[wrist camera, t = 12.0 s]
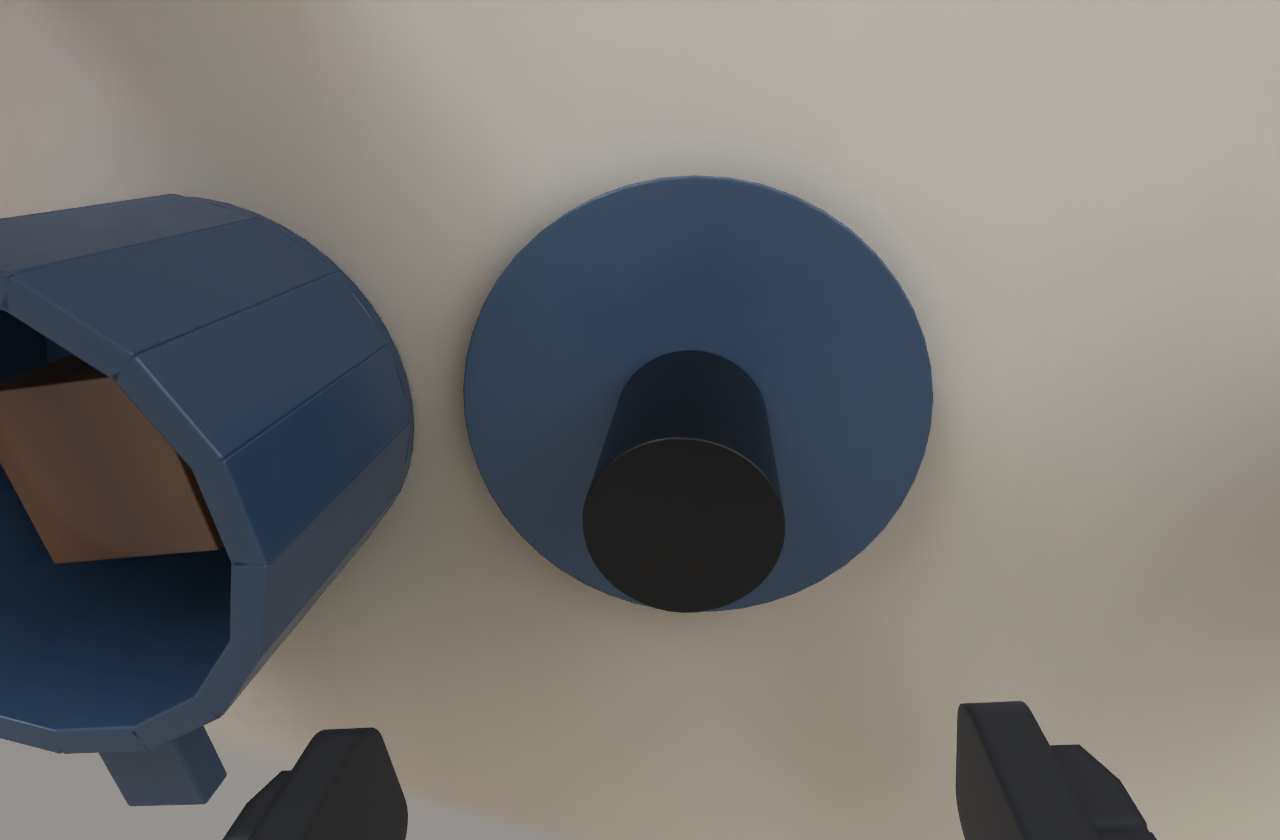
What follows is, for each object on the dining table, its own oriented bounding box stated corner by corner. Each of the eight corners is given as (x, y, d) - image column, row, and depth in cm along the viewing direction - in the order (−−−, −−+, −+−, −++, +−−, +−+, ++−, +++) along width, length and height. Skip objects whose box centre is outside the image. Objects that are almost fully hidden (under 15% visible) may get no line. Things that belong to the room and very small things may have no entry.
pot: (317, 59, 19) (47, 21, 11) (474, 611, 26) (370, 825, 18) (-81, 132, 21) (-551, 143, 13) (161, 631, 28) (-54, 833, 20)
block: (262, 318, 22) (141, 372, 17) (314, 466, 24) (218, 551, 19) (116, 337, 22) (-38, 394, 18) (178, 479, 24) (53, 564, 20)
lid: (923, 137, 19) (1036, 149, 12) (922, 578, 24) (1002, 754, 17) (425, 211, 20) (291, 256, 14) (523, 604, 26) (458, 770, 19)
